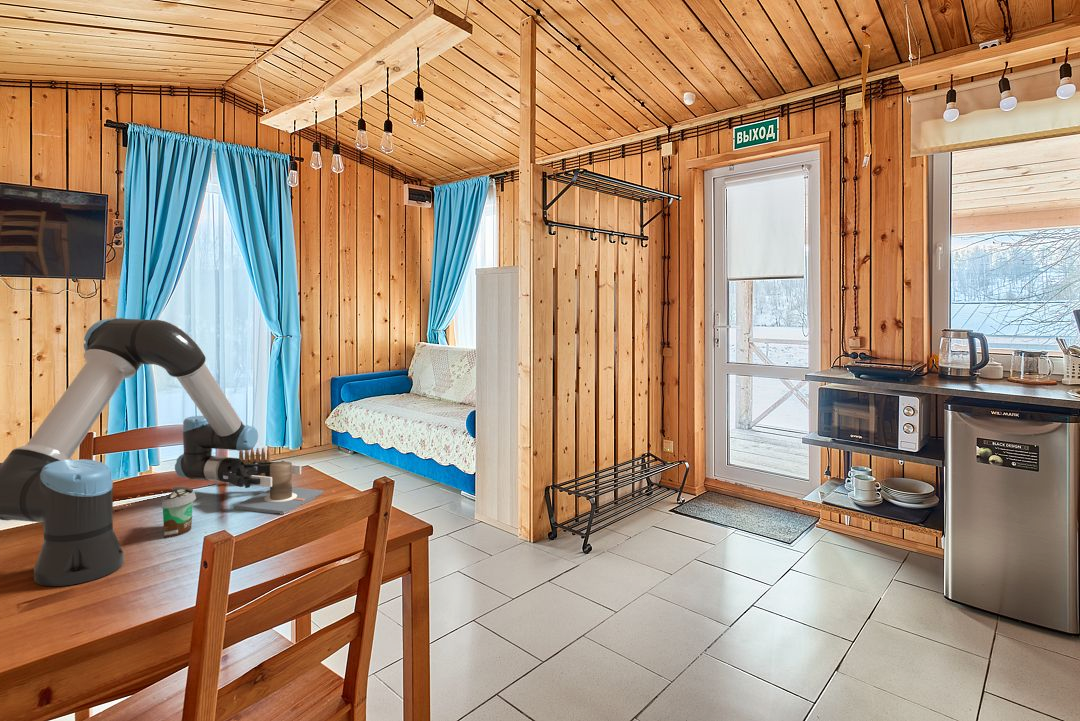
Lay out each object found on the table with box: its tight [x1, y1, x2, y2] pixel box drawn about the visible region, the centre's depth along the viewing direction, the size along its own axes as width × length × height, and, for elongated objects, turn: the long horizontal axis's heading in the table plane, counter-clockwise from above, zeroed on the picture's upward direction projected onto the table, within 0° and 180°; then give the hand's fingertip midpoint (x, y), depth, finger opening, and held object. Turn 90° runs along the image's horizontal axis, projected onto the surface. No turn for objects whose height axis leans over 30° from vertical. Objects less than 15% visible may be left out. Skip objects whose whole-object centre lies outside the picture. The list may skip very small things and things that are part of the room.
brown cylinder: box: [269, 461, 293, 500], centre depth 172 cm, size 6×6×10 cm
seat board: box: [233, 486, 325, 515], centre depth 172 cm, size 20×16×1 cm
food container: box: [161, 486, 197, 539], centre depth 147 cm, size 12×6×10 cm, turn 22°
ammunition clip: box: [238, 447, 272, 478], centre depth 188 cm, size 11×2×12 cm, turn 93°
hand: (286, 475), depth 172 cm, fingers open, 13 cm apart
